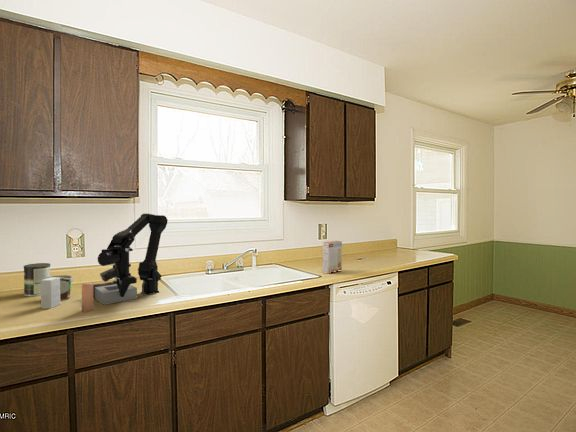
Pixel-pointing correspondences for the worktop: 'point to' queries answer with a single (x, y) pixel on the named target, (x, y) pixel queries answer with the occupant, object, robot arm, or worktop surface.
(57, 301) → the skincare box
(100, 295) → the socket block
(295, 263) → the worktop surface
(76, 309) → the worktop surface
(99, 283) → the walnut wall
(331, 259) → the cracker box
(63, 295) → the food container
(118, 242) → the robot arm
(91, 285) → the dowel
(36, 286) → the coffee can
